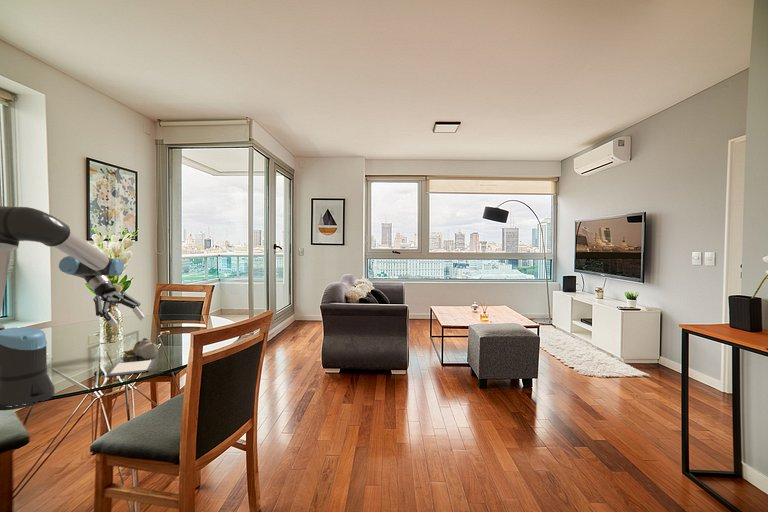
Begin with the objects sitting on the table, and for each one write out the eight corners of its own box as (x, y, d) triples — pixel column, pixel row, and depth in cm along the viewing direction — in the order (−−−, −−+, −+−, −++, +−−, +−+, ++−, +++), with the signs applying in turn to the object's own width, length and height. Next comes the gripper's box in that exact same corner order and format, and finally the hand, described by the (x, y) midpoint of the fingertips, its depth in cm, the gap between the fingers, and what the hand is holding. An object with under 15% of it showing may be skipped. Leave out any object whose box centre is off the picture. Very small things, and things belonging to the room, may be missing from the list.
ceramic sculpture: (139, 342, 157) (122, 338, 165) (140, 362, 157) (123, 358, 165) (165, 337, 166) (147, 333, 174) (165, 356, 166) (148, 352, 174)
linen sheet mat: (106, 376, 142) (106, 374, 142) (115, 364, 155) (115, 362, 155) (148, 372, 147) (148, 370, 147) (154, 360, 160) (154, 359, 160)
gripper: (123, 288, 183) (148, 321, 180) (69, 296, 159) (97, 334, 156) (131, 278, 181) (157, 311, 179) (78, 285, 157) (107, 322, 155)
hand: (129, 321), depth 167 cm, fingers open, 13 cm apart
